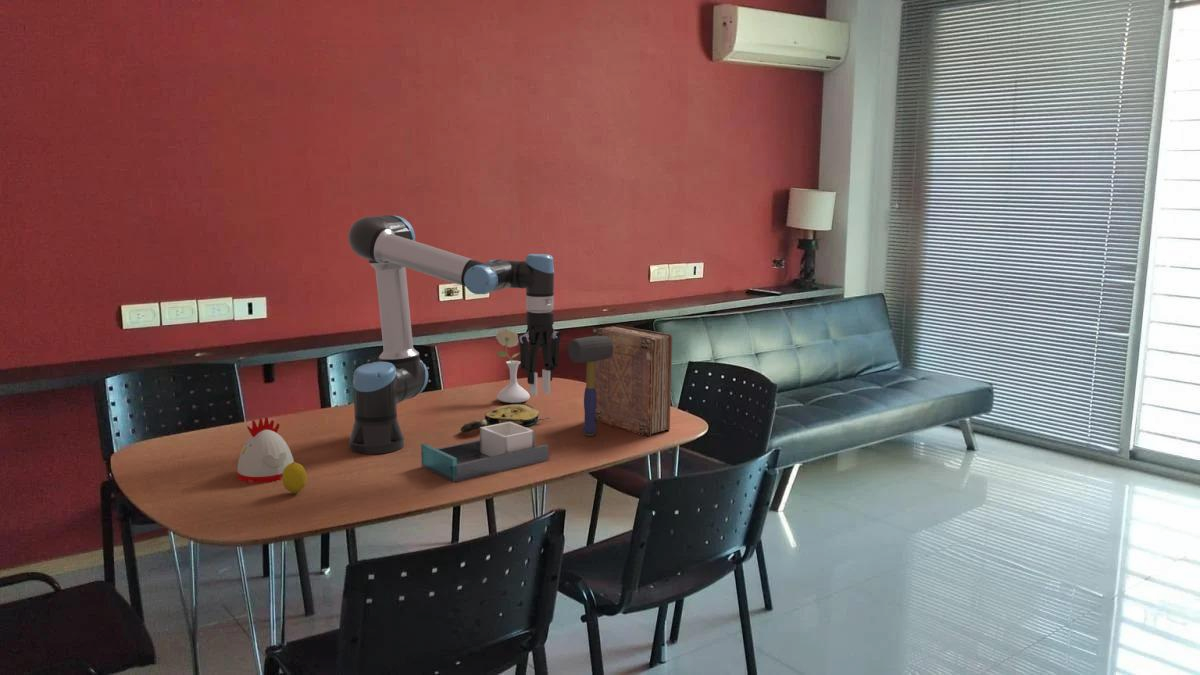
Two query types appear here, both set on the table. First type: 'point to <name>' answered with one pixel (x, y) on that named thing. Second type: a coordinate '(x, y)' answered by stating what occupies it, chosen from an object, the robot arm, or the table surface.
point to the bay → (475, 460)
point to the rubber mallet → (590, 371)
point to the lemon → (294, 477)
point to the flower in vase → (511, 370)
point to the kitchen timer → (263, 454)
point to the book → (634, 380)
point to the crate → (505, 438)
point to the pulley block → (506, 417)
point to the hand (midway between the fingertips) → (539, 393)
